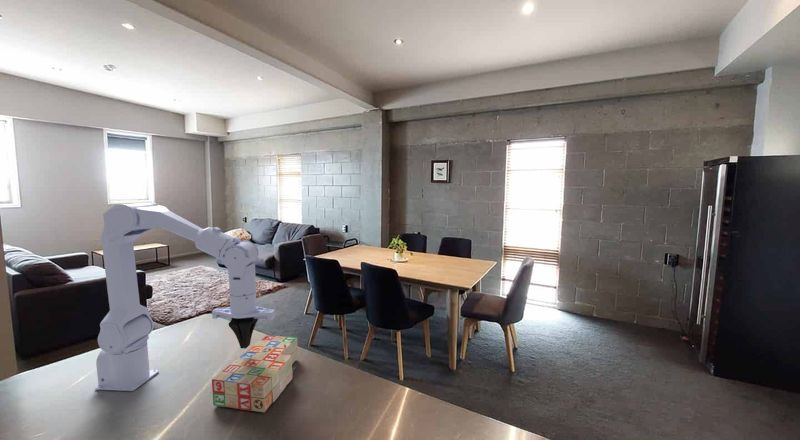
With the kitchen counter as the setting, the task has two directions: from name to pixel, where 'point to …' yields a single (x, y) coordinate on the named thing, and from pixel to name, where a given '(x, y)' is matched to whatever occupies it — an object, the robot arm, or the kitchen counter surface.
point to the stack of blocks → (256, 375)
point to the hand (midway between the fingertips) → (245, 346)
